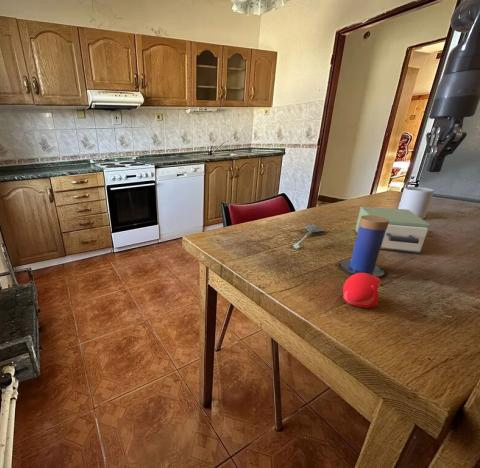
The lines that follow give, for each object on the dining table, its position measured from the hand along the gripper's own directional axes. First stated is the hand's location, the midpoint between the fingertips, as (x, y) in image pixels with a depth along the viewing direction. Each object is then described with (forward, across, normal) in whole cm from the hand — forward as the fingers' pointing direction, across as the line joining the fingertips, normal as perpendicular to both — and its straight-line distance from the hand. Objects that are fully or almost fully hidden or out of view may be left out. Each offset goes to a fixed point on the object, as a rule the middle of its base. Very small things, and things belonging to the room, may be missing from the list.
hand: (432, 171), depth 65 cm
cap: (+22, -32, +18) cm, 43 cm away
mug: (+23, +41, -14) cm, 49 cm away
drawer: (+22, +4, +3) cm, 22 cm away
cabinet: (+22, +8, +3) cm, 24 cm away
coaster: (+22, -16, +14) cm, 31 cm away
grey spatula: (+22, +2, +26) cm, 34 cm away
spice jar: (+22, -16, +14) cm, 31 cm away
